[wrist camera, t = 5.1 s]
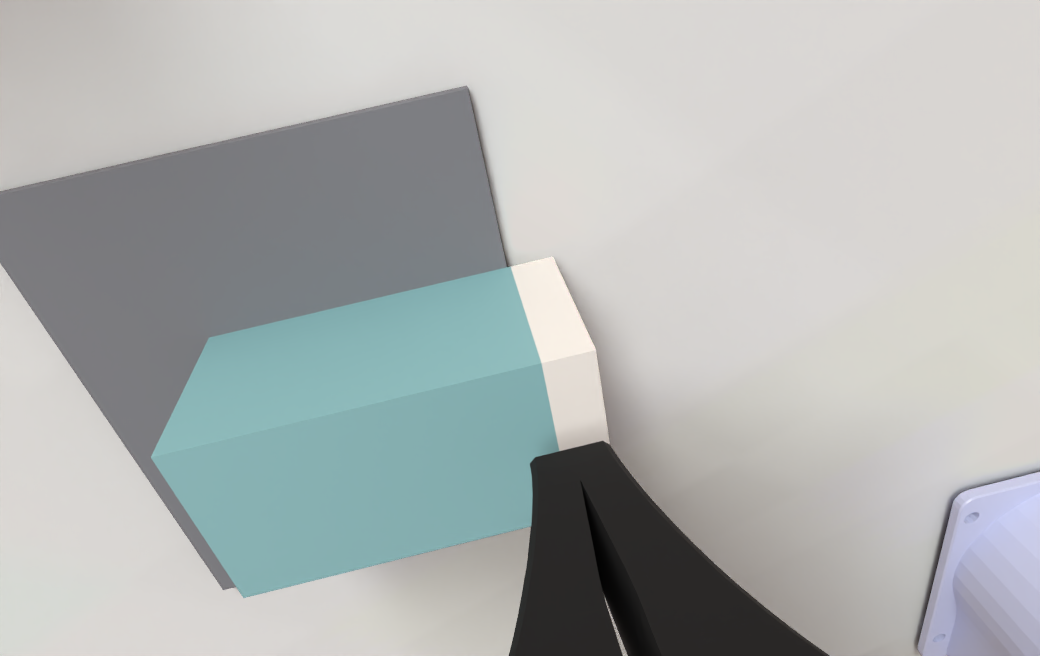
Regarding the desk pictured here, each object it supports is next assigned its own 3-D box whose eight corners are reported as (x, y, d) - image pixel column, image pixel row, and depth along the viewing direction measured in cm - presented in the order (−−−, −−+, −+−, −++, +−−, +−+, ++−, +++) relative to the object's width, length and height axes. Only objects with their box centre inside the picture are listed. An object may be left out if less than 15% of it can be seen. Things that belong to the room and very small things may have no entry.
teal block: (619, 504, 14) (243, 598, 14) (576, 392, 17) (275, 464, 17) (596, 349, 12) (150, 457, 11) (552, 256, 15) (208, 337, 15)
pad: (556, 499, 19) (559, 506, 19) (225, 581, 19) (223, 590, 19) (467, 85, 13) (468, 89, 13) (-32, 198, 13) (-40, 203, 13)
